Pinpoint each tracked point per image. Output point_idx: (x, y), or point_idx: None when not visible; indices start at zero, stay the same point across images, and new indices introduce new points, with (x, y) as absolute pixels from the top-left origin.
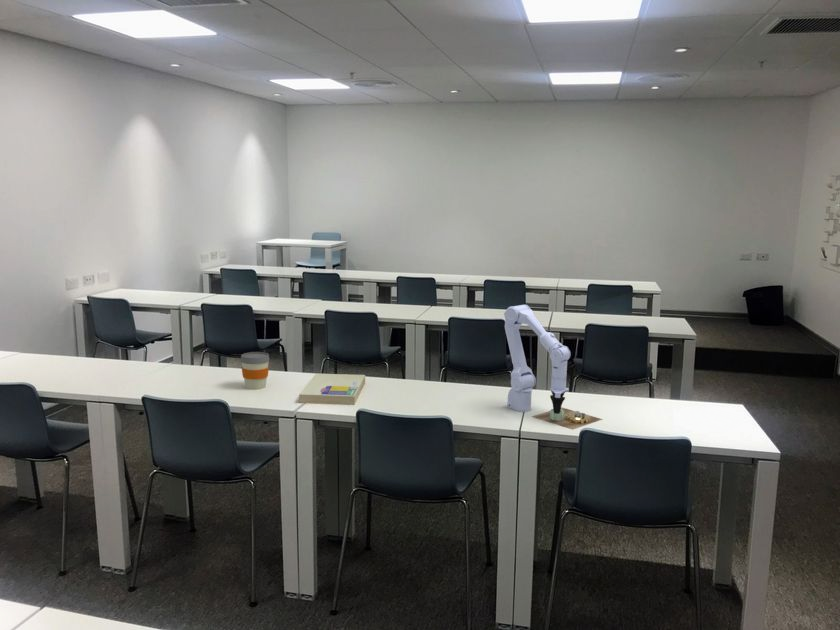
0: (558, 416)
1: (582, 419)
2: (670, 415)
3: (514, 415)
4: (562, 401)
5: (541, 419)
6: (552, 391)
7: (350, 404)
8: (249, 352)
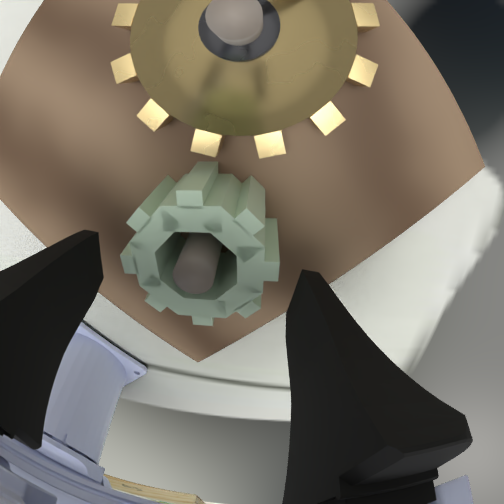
0: (277, 246)
1: (345, 2)
2: None
3: (164, 389)
4: (428, 402)
5: (251, 328)
6: (35, 439)
7: (197, 497)
8: None
